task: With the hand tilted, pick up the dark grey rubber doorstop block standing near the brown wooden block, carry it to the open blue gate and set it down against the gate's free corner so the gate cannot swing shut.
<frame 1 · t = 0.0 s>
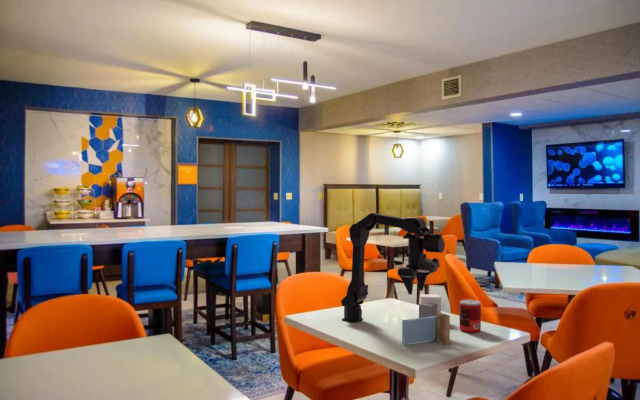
hand: (415, 292, 186), 15 cm above the table, tool pointing down, fingers open, 9 cm apart
canned food: (470, 331, 187), on the table
small box: (430, 321, 201), on the table
gate: (420, 330, 172), point 4 cm above the table, hinge at 90.0°
doorstop block: (428, 333, 183), on the table
brown wooden block: (436, 340, 175), on the table
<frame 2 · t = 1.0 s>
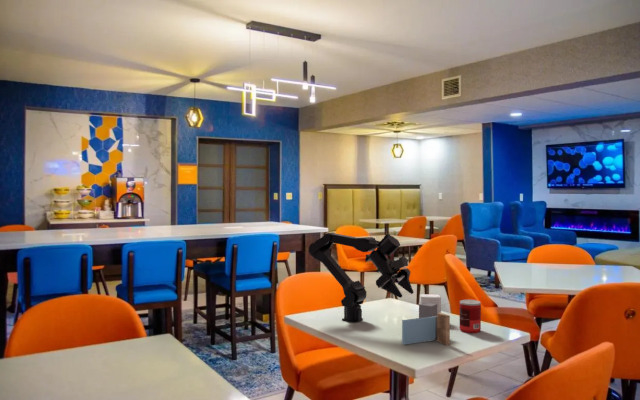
hand: (407, 295, 188), 13 cm above the table, tool tilted 45°, fingers open, 9 cm apart
nothing on the table moved.
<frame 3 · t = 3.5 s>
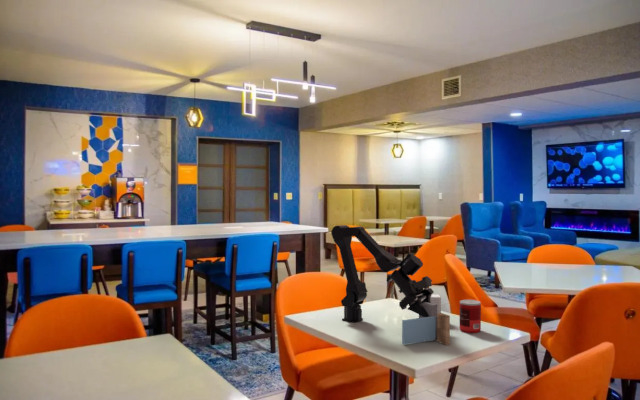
hand: (431, 316, 182), 7 cm above the table, tool tilted 45°, fingers closed on doorstop block, 5 cm apart
doorstop block: (428, 333, 183), on the table, touching gripper
everything else where it was.
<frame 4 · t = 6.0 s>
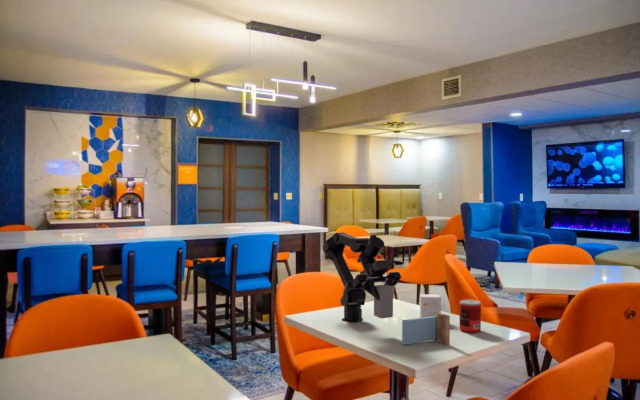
hand: (385, 299, 180), 13 cm above the table, tool tilted 45°, fingers closed on doorstop block, 5 cm apart
doorstop block: (383, 316, 182), point 7 cm above the table, touching gripper
everything else where it was.
when the fingers open (7 cm above the table, at t = 8.4 s): doorstop block stays where it is, on the table.
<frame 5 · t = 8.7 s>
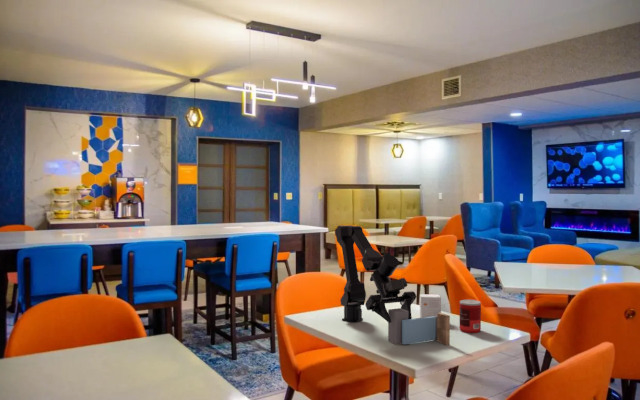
hand: (400, 321, 171), 8 cm above the table, tool tilted 45°, fingers open, 8 cm apart
doorstop block: (398, 341, 173), on the table
everything else where it was.
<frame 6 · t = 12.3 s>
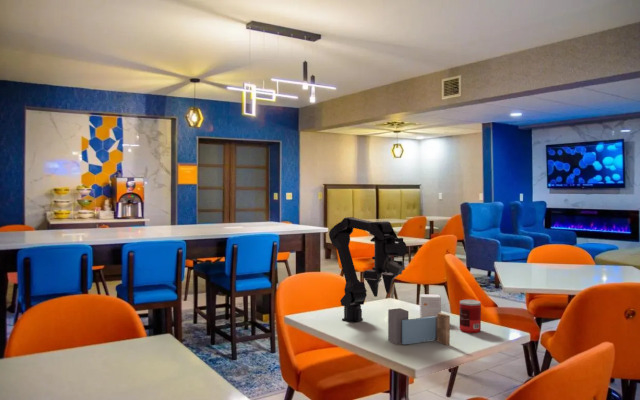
hand: (381, 294, 190), 13 cm above the table, tool pointing down, fingers open, 9 cm apart
nothing on the table moved.
at the end: doorstop block 0.0 cm from the target spot, on the table; doorstop block tilted 0°; gate at +90° (first picture: +90°) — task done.
